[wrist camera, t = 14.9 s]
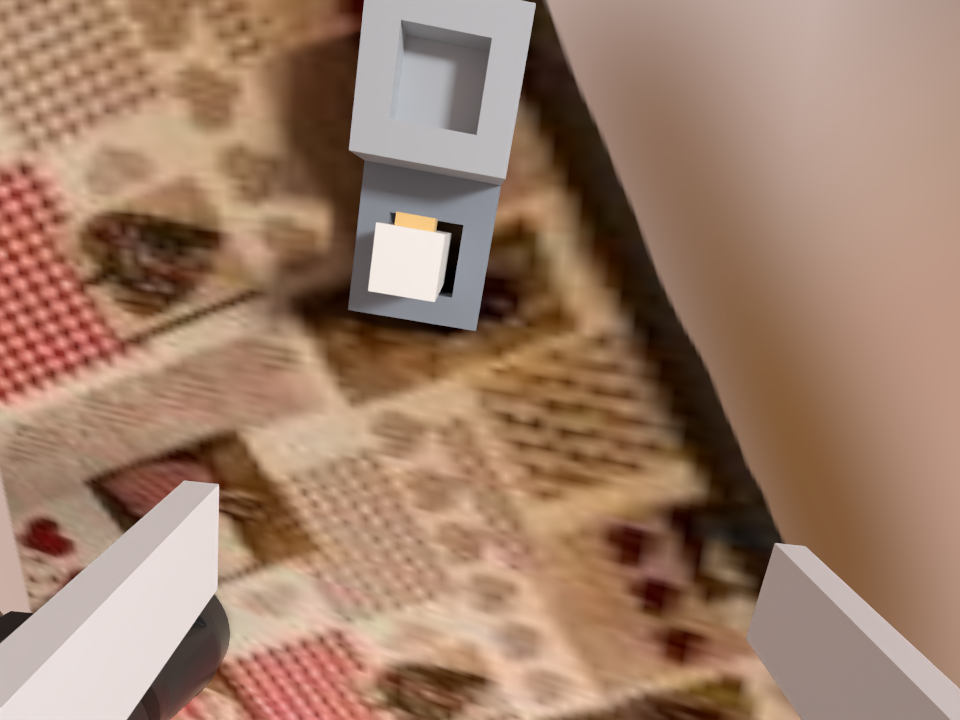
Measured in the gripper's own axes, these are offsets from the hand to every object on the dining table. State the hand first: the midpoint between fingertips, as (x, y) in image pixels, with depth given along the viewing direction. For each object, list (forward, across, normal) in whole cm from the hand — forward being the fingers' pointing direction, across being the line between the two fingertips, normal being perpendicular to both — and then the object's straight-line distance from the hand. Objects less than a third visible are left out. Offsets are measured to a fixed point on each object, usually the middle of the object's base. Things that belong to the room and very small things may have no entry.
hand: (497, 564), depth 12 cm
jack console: (+32, -4, +11) cm, 34 cm away
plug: (+32, -5, +5) cm, 33 cm away
